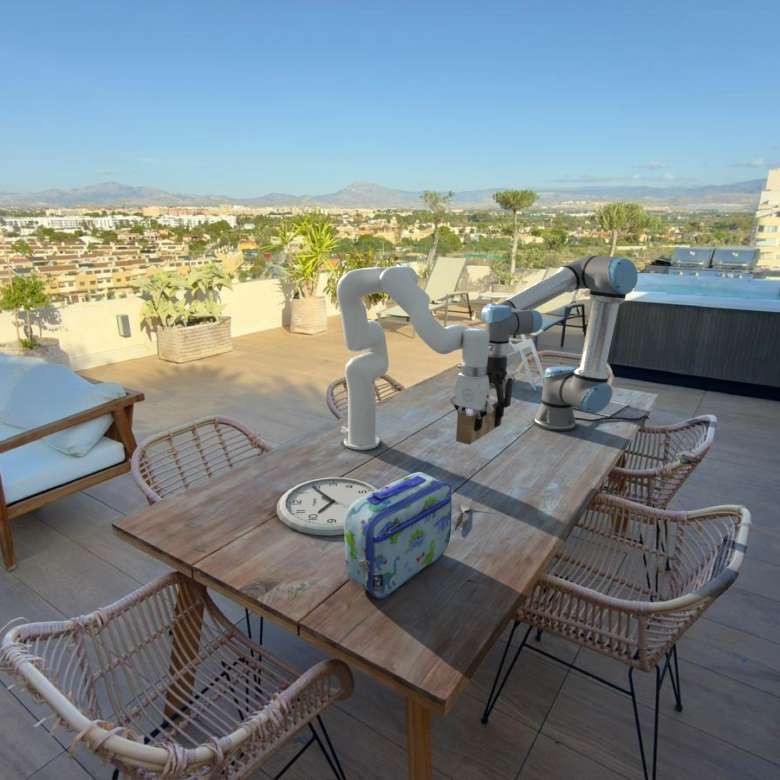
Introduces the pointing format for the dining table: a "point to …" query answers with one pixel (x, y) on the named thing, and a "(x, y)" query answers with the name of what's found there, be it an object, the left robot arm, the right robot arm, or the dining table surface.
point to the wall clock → (321, 504)
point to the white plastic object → (524, 356)
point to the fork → (464, 508)
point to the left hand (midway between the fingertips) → (469, 427)
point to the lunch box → (397, 532)
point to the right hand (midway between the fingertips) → (489, 423)
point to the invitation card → (611, 408)
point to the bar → (468, 424)
